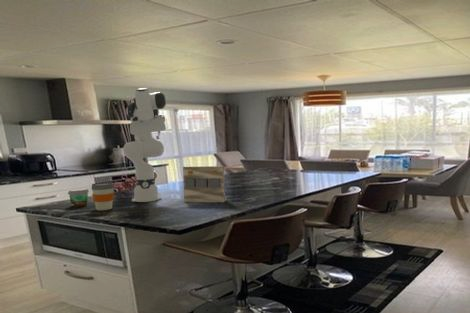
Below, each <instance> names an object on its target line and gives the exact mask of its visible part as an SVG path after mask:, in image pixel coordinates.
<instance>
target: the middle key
mask: <svg viewBox="0 0 470 313" xmlns="http://www.w3.org/2000/svg"><path fill="white" fill-rule="evenodd" d="M197 187H208V178H199V179H197Z"/></svg>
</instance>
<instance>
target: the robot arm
mask: <svg viewBox="0 0 470 313" xmlns="http://www.w3.org/2000/svg"><path fill="white" fill-rule="evenodd" d="M132 100H133V101H131V102H130V103H129V104H127V107H126V110H125V112H126V116H127V117H128V118H129V119H130V124H129V132H130V134H131V135H134V139H135V141H131V142H126V143H124V146H123V147H122V152H123V155H124V157H126V158H127V159H129V160H130V162H132V164H133V165H134V168H135V174H136V179H135V185H136V186H135V187H134V189H133V197H132V199H131V202H137V203H149V202H155V201H158V200H159V201H160V200H161V199H162V198H161V196H159V192H158V186H156V178H155V175H154V174H155V173H154V166H153V165H152V164H151V163H148V162H146V161H145V160H144V159H145V158H157V157H162V155H163V154H164V152H165V147H164V144H163V143H162V142H161V141H159V140H160V135H161V132H162V131H166V129H167V126H166V124H165V122H166V118H165V116H164V115H162V114H160V110H163V109H164V108H165V107H166V105H167V98H166V96H165V94H164V93H162V92H161V91H158V92H152V93H150V89H149V88H148V87H141V88H137V89H135V91H134V98H132ZM156 132H157V134H158V135H157V136H156V137H155V138H156V139H155V138H154V137H153V133H156Z"/></svg>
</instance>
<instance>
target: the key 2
mask: <svg viewBox="0 0 470 313" xmlns="http://www.w3.org/2000/svg"><path fill="white" fill-rule="evenodd" d="M209 187H210V188H219V187H221V185H220V178H211V179H209Z"/></svg>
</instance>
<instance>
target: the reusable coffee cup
mask: <svg viewBox="0 0 470 313" xmlns="http://www.w3.org/2000/svg"><path fill="white" fill-rule="evenodd" d="M114 189H115V184H114V182H112V181H110V182H109V181H104V182H96V183H92V184H91V192H92V198H93V202H94V205H95V210H96V211H107V210H111V209H113V201H114V196H115V191H114Z"/></svg>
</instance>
